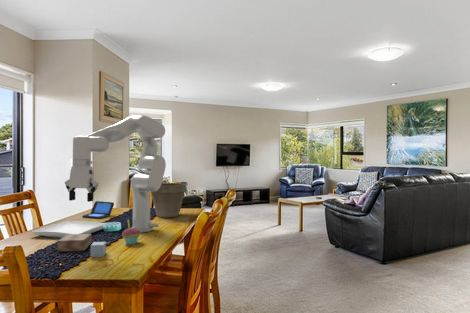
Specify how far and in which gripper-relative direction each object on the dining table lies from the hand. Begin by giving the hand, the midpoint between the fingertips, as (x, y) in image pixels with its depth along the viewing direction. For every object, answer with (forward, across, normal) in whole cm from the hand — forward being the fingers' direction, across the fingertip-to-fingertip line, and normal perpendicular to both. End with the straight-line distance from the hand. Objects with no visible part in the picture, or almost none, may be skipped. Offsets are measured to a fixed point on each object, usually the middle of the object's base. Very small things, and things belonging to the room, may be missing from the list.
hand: (81, 200), depth 150 cm
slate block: (+21, -15, +7) cm, 27 cm away
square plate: (+22, +23, -22) cm, 38 cm away
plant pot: (+20, -5, -78) cm, 81 cm away
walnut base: (+22, +2, +1) cm, 22 cm away
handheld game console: (+21, +38, -62) cm, 76 cm away
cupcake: (+21, -18, -13) cm, 31 cm away
